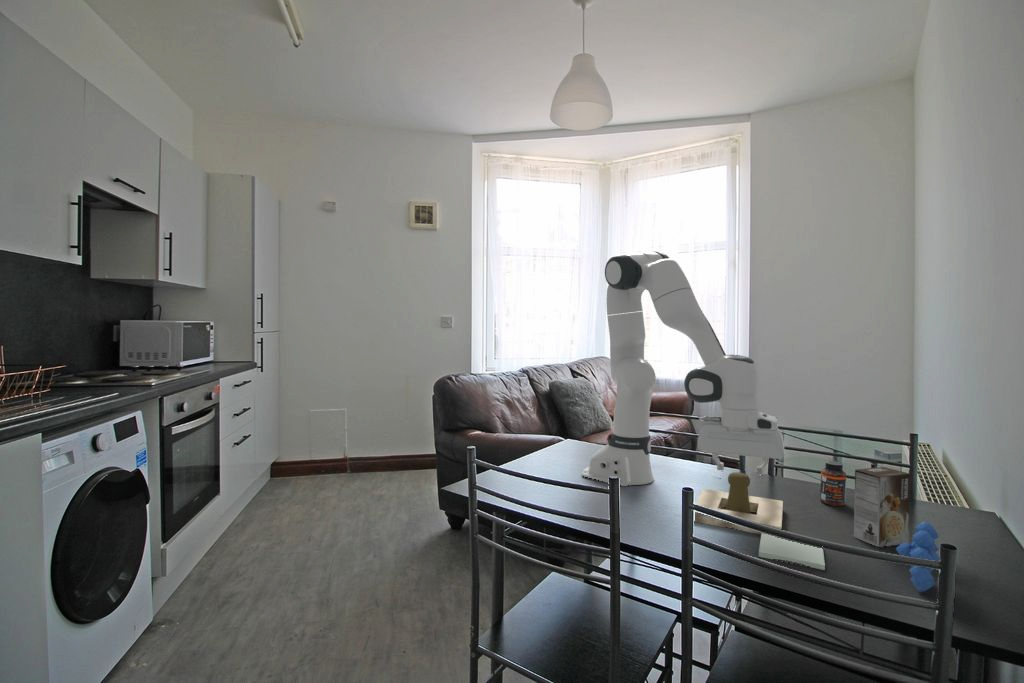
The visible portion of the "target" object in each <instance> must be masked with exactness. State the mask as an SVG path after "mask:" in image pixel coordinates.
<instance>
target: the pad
mask: <svg viewBox="0 0 1024 683" xmlns="http://www.w3.org/2000/svg"><path fill="white" fill-rule="evenodd" d="M759 557H760V558H764V559H769V560H773V559H781V560H785V561H786V560H788V561H792V562H797V563H801V564H804V565H806V566H805V567H807V566H810V567H809V568H812V569H813V568H814V569H817V570H822V571H825V570H826V563H825V555H824V548H823V549H822V548H817V547H813V546H809V545H804V544H800V543H797V542H792V541H788V540H785V539H781V538H777V537H775V536H771V535H768V534H764V533H762V534H760V541H759V548H758V558H759Z"/></svg>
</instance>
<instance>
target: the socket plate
mask: <svg viewBox="0 0 1024 683" xmlns="http://www.w3.org/2000/svg"><path fill="white" fill-rule="evenodd" d="M728 495H729V491H728V492H727V491H723V490H722V491H720V490H716V489H715V490H714V489H710V488H702V490H701V492H700V494H699V496H698V498H697V500H696V501H695V503H694V505H699V506H704V507H707V508H711V509H715V510H718V511H721V512H724V513H728V514H731V515H735V516H738V517H742V518H745V519H747V520H751V521H754V522H757V523H761V524H764V525H768V526H771V527H775V528H779V529H782V528H783V527H782V526H783V513H784V512H783V511H784V510H783V508H784V507H783V506H784V505H783V504H784V501H783V500H779V499H773V498H767V497H761V496H760V497H759V496H752V495H748V496H749V505H750V513H751V514H748V513H742V512H736V511H730V510H726V507H727V501H728ZM723 508H725V509H723ZM755 512H756V514H753V513H755ZM698 522H699V524H705V525H709V524H710V526H714V525H715V526H716V527H721V528H725V527H728V528H727V529H730V527H731V528H734V529H733V530H736V529H737V530H736V531H741V530H742V531H743V532H747V533H752V534H758V535H761V534H762V533H760V532H756V531H753V530H750V529H747V528H744V527H741V526H738V525H735V524H732V523H729V522H726V521H723V520H719V519H716V518H713V517H711V516H708V515H704V514H701V513H698V512H695V522H694V523H698ZM715 526H714V527H715Z"/></svg>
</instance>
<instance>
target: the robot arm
mask: <svg viewBox="0 0 1024 683" xmlns="http://www.w3.org/2000/svg"><path fill="white" fill-rule="evenodd" d="M604 277H605V281H606V283H607V284H608V285H607V289H606V315H607V324H608V334H609V343H610V344H609V352H610V353H609V354H610V356H609V357H610V358H609V359H610V362H609V363H610V374H611V379H612V381H613V382H614V383H615V384H616V386H617V387H616V397H615V403H614V408H613V431H612V430H611V432H609V434H607V436H606V441H607V444H606V445H604V446H602V448H600V449H598V450H596V452H593V454H592V455H591V458H590V460H589V465H588V466H587V467H585V468H584V469H583V470H582V471H581V476H582V475H583V476H585V477H588V478H587V479H589V478H592V479H591V480H594V479H596V480H595V481H598V480H599V482H602V481H603V482H602V483H606V484H609V483H608V477H609V476H617V477H619V478H620V484H621V487H628V485H629V486H637V485H638V486H639V485H647V484H651V483H653V482H654V481H655V478H654V475H653V470H652V466H651V458H650V457H651V456H650V453H651V450H652V449H651V447H652V443H651V442H652V441H651V435H650V412H651V411H650V409H651V403H652V397H653V391H654V385H655V382H656V379H657V378H656V373H655V369H654V368H653V366H652V364H650V363H649V362H648V360H645V342H646V341H645V340H646V329H645V328H646V327H645V320H644V311H643V303H642V295H643V292H644V291H648V293H649V295H650V298H651V301H652V304H653V308H654V309H655V312H656V314H657V315H658V318H659V320H660V321H661V322H662V324H664V325H665V326H667V327H668V328H670V329H673V330H675V331H677V332H680V333H682V334H683V335H685V336H687V337H688V338H689V339H690V340H691V341H692V342H693V344H694V345H695V348H696V350H697V352H698V354H699V356H700V358H701V360H702V363H703V364H704V365H703V366H701V367H696V368H694V369H692V370H690V371H689V372H688V373H686V376H685V378H684V382H683V384H684V390H685V393H686V395H687V396H688V397H689V399H691V400H692V401H694V402H696V403H700V404H709V403H714V402H717V403H718V404H720V416H702V417H701V418H698V420H697V422H696V430H697V432H698V437H697V438H698V439H697V449H698V450H699V451H700V452H702V453H711V454H712V458H713V460H714V462H715V463H716V470H717V471H724V470H725V466H724V465H725V463H724V462H722V461H721V460H720V458H719V456H720V454H723V455H732V456H742V457H743V456H744V457H745V456H746V457H754V458H761V462H763V463H762V464H761V465H757V467H756V469H757V470H756V471H757V472H756V473H757V474H756V475H760V476H764V475H765V468H766V467H767V465H768V463H769V460H770V459H774V460H775V459H776V460H782V459H783V458H784V457H785V443H784V442H785V441H784V437H783V434H782V431H781V429H780V428H778V427H779V420H778V418H777V417H776V416H773V415H769V414H768V413H764V412H761V411H759V404H758V400H757V399H758V398H757V396H758V393H759V380H758V370H757V366H756V363H755V361H754V360H753V359H752V358H750V357H747V356H745V355H740V354H726V352H725V351H724V349H723V347H722V344H721V342H720V341H719V339H718V336H717V334H716V332H715V330H714V328H713V327H712V325H711V323H710V322H709V320H708V318H707V317H706V314H704V311H703V310H702V308H701V306H700V304H699V303H698V301H697V298H696V296H695V294H694V291H693V288H692V287H691V286H692V285H691V284H690V282H689V279H688V278H687V276H686V274H685V272H684V271H683V269H682V268H681V266H680V265H679V263H678V262H677V261H676V260H675V259H672V258H670V257H669V255H667V254H666V253H663V252H661V251H660V252H659V251H636V252H630V253H626V254H625V253H621V254H620V253H619V254H617V255H614V256H612V257H610V258H609V259H608V260H607V262H606V264H605V267H604ZM583 476H582V477H583ZM585 477H584V478H585Z"/></svg>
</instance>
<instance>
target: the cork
mask: <svg viewBox="0 0 1024 683" xmlns="http://www.w3.org/2000/svg"><path fill="white" fill-rule="evenodd" d="M727 482H728V484H729V489H728V493H729V495H728V501H727V507H726V508H725V510H730V511H736V512H742V513H748V514H752V512H750V505H749V496H750V495H749V489H748V488H749V486H750V484H751V479H750V476H749V475H747V474H746V473H743V472H739V471H738V472H736V471H735V472H733V471H732V472H730V473H729V474H728V477H727Z"/></svg>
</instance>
